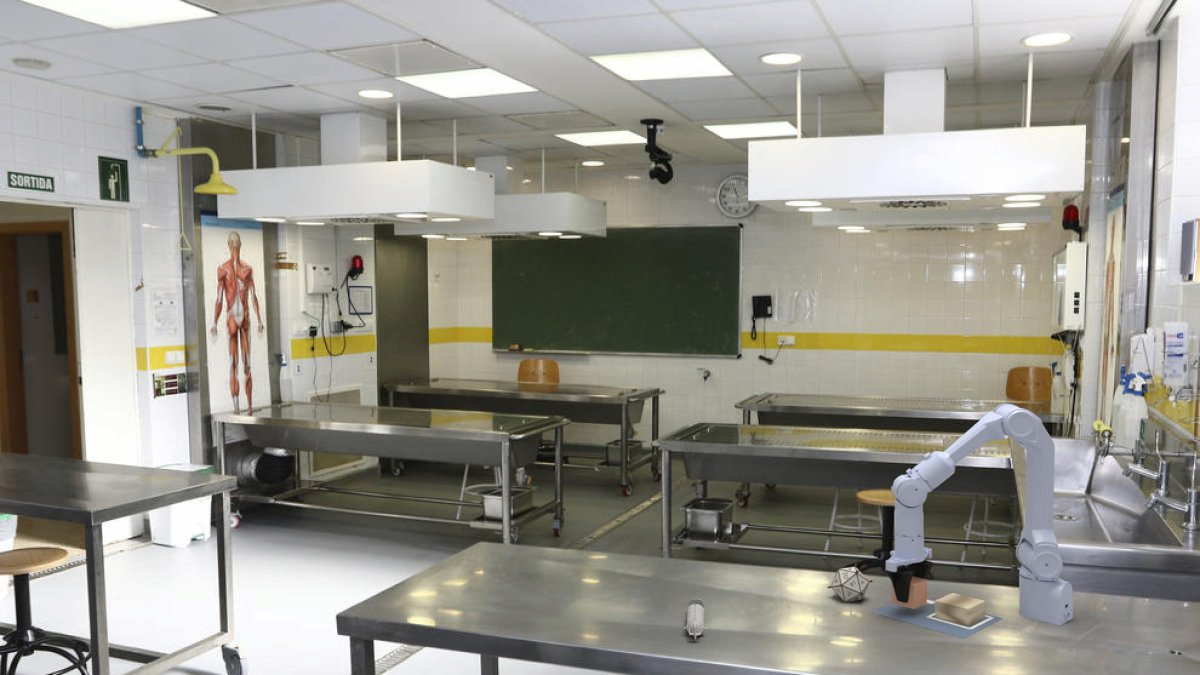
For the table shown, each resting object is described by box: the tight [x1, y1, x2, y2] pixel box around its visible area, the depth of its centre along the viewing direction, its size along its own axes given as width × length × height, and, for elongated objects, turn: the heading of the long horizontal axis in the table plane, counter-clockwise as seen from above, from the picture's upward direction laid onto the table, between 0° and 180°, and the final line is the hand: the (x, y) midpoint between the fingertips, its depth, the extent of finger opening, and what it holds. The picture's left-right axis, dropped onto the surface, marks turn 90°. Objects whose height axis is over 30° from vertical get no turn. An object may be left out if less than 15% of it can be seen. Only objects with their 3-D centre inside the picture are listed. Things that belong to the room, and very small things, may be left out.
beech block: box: [934, 592, 986, 626], centre depth 184 cm, size 7×7×4 cm
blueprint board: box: [871, 597, 1004, 639], centre depth 186 cm, size 20×16×1 cm
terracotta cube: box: [891, 576, 928, 609], centre depth 188 cm, size 5×5×5 cm
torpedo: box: [683, 598, 708, 640], centre depth 184 cm, size 18×5×6 cm, turn 174°
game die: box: [826, 563, 874, 603], centre depth 197 cm, size 9×8×10 cm
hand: (909, 598), depth 188 cm, fingers closed on terracotta cube, 5 cm apart
